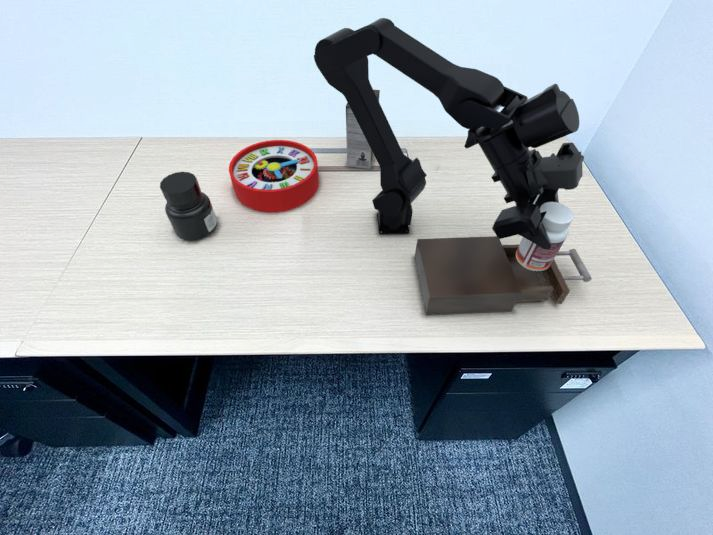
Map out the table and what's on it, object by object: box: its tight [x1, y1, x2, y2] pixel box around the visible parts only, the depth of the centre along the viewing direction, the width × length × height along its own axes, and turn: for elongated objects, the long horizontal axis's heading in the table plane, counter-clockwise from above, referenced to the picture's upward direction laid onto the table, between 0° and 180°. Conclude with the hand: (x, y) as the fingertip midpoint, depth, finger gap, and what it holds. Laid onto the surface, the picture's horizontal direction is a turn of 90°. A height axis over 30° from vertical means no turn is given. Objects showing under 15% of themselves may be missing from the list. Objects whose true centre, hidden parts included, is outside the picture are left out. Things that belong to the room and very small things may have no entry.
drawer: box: [502, 243, 593, 305], centre depth 74 cm, size 20×12×4 cm, turn 93°
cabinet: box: [413, 235, 521, 316], centre depth 73 cm, size 16×14×6 cm
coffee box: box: [345, 89, 381, 170], centre depth 96 cm, size 9×6×16 cm
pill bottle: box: [516, 202, 575, 272], centre depth 67 cm, size 6×6×11 cm
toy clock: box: [228, 139, 320, 214], centre depth 93 cm, size 20×6×20 cm
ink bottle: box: [159, 171, 219, 242], centre depth 81 cm, size 10×9×12 cm
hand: (553, 236), depth 66 cm, fingers closed on pill bottle, 6 cm apart
